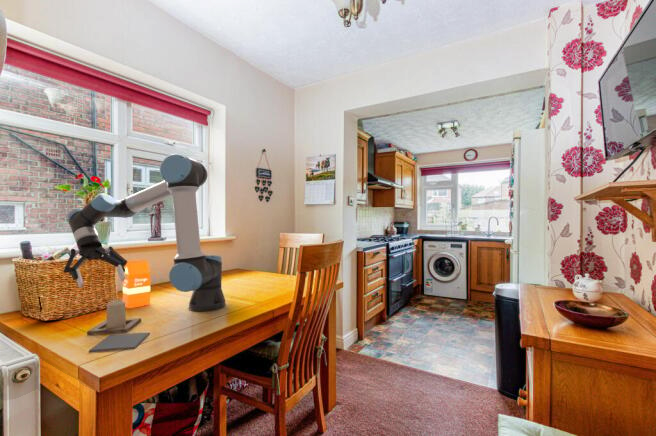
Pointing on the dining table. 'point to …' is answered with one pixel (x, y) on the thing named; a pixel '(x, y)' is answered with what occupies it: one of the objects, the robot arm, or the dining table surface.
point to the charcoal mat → (120, 342)
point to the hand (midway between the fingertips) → (103, 282)
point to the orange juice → (136, 284)
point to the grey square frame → (127, 328)
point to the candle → (115, 314)
